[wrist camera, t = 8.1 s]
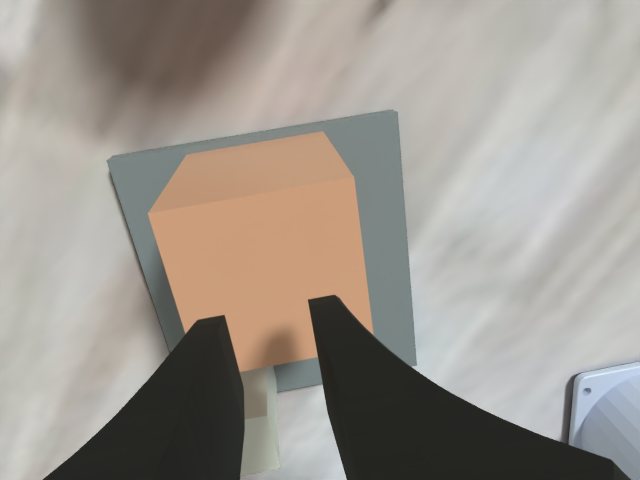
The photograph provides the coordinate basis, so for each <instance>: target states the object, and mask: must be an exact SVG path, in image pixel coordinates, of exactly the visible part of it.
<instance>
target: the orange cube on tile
mask: <svg viewBox="0 0 640 480" xmlns="http://www.w3.org/2000/svg"><path fill="white" fill-rule="evenodd" d="M148 216H149V220H150V223H151V226H152V229H153V232H154V235H155V239H156V242H157V245H158V248H159V251H160V255H161V258H162V261H163V264H164V267H165V270H166V274H167V277H168V280H169V283H170V286H171V290H172V293H173V296H174V299H175V302H176V306H177V309H178V312H179V315H180V318H181V321H182V325H183V328H184V331H185V334H186V333H187V332H188V330H189V329H190V328H191V327H192V325H193V324H194V323H195V322H196V321H197V320H199V319H204V318H209V317H215V316H220V315H225V318H226V322H227V326H228V329H229V333H230V337H231V341H232V345H233V348H234V352H235V356H236V360H237V364H238V367H239V371H240V372H243V371H248V370H253V369H258V368H263V367H269V366H274V365H279V364H284V363H289V362H295V361H300V360H305V359H310V358H315V357H318V355H317V349H316V343H315V338H314V332H313V326H312V321H311V315H310V310H309V304H308V299H313V298H319V297H324V296H329V295H336V296H338V297H339V298H340V299H341V300H342V302H343V303H344V304H345V306H346V307H347V308H348V309H349V311H350V312H351V313H352V314H353V315H354V316H355V317H356V318H357V319H358V320H359V322H360V323H361V324H362V325H363V326H364V327H365V328H366V329H367V330H368V331H369V332H371V333H372V334H373V326H372V318H371V310H370V302H369V294H368V285H367V277H366V269H365V261H364V253H363V245H362V237H361V228H360V220H359V212H358V204H357V196H356V188H355V179H354V176H353V175H352V173H351V172H350V170H349V169H348V167H347V166H346V164H345V163H344V161H343V160H342V158H341V157H340V155H339V154H338V152H337V151H336V149H335V148H334V146H333V145H332V143H331V142H330V141H329V139H328V138H327V136H326V135H325V133H324V132H323V131H321V132H315V133H310V134H304V135H298V136H292V137H286V138H280V139H275V140H269V141H263V142H257V143H251V144H245V145H240V146H234V147H228V148H222V149H216V150H210V151H205V152H199V153H193V154H187V155H186V156H185V158H184V159H183V161H182V162H181V164H180V165H179V167H178V168H177V170H176V171H175V173H174V174H173V176H172V177H171V179H170V181H169V182H168V184H167V185H166V187H165V188H164V190H163V191H162V193H161V194H160V196H159V197H158V199H157V200H156V202H155V203H154V205H153V206H152V208H151V209H150V211H149V212H148ZM373 335H374V334H373Z"/></svg>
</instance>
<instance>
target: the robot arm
mask: <svg viewBox="0 0 640 480" xmlns="http://www.w3.org/2000/svg"><path fill="white" fill-rule="evenodd" d="M308 304H309V310H310V315H311V321H312V326H313V332H314V338H315V343H316V349H317V355H318V360H319V366H320V371H321V377H322V383H323V388H324V394H325V400H326V405H327V411H328V415H329V419H330V422H331V426H332V429H333V433H334V436H335V440H336V443H337V447H338V450H339V453H340V457H341V460H342V464H343V467H344V471H345V474H346V478H347V480H640V362H635V363H630V364H625V365H620V366H615V367H610V368H604V369H599V370H594V371H589V372H584V373H581V374H579V375H578V376H577V377H576V378H575V381H574V389H573V400H572V411H571V422H570V433H569V444H565V443H562V442H559V441H556V440H553V439H550V438H547V437H544V436H542V435H539V434H537V433H534V432H532V431H530V430H527V429H525V428H522V427H520V426H518V425H515V424H513V423H511V422H508V421H506V420H504V419H501V418H499V417H497V416H495V415H493V414H491V413H489V412H486V411H484V410H482V409H480V408H478V407H477V406H475V405H473V404H471V403H469V402H467V401H465V400H463V399H461V398H459V397H457V396H456V395H454V394H452V393H450V392H448V391H447V390H445V389H443V388H442V387H440V386H438V385H437V384H435V383H434V382H432V381H431V380H429V379H428V378H426V377H425V376H423V375H422V374H420V373H419V372H417V371H416V370H415V369H413V368H412V367H411V366H409V365H408V364H407V363H405V362H404V361H403V360H402V359H400V358H399V357H398V356H397V355H395V354H394V353H393V352H392V351H390V350H389V349H388V348H387V347H386V346H385V345H383V344H382V343H381V342H380V341H379V340H378V339H377V338H376V337H375V336H374V335H373V334H372V333H371V332H369V331H368V330H367V329H366V328H365V327H364V326H363V325H362V324H361V323H360V322H359V320H358V319H357V318H356V317H355V316H354V315H353V314H352V313H351V312H350V311H349V309H348V308H347V307H346V306H345V304H344V303H343V302H342V300H341V299H340V298H339V297H338V296H336V295H329V296H324V297H319V298H313V299H308ZM244 432H245V409H244V386H243V383H242V379H241V375H240V371H239V367H238V364H237V360H236V356H235V352H234V348H233V345H232V341H231V337H230V333H229V329H228V326H227V322H226V318H225V315H220V316H215V317H209V318H204V319H199V320H197V321H196V322H195V323H194V324H193V325H192V327H191V328H190V329H189V330H188V332H187V333H186V334H185V335H184V337H183V338H182V339H181V340H180V342H179V343H178V344H177V346H176V347H175V348H174V349H173V351H172V352H171V353H170V354H169V355H168V357H167V358H166V359H165V360H164V362H163V363H162V364H161V365H160V366H159V368H158V369H157V370H156V371H155V373H154V374H153V375H152V376H151V377H150V378H149V379H148V381H147V382H146V383H145V384H144V385H143V386H142V387H141V388H140V389H139V390H138V392H137V393H136V394H135V395H134V396H133V397H132V398H131V399H130V400H129V401H128V403H127V404H126V405H125V406H124V407H123V408H122V409H121V410H120V411H119V412H118V413H117V414H116V415H115V416H114V417H113V418H112V419H111V420H110V421H109V422H108V423H107V424H106V425H105V426H104V427H103V428H102V429H101V430H100V431H99V432H98V433H97V434H96V435H94V436H93V437H92V438H91V439H90V440H89V441H88V442H87V443H86V444H85V445H84V446H82V447H81V448H80V449H79V450H78V451H77V452H76V453H75V454H73V455H72V456H71V457H70V458H69V459H68V460H66V461H65V462H64V463H63V464H61V465H60V466H59V467H58V468H56V469H55V470H54V471H53V472H52V473H50V474H49V475H48V476H47V477H45V478H44V479H43V480H240V473H241V463H242V453H243V443H244Z"/></svg>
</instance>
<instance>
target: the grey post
mask: <svg viewBox="0 0 640 480" xmlns="http://www.w3.org/2000/svg"><path fill="white" fill-rule="evenodd" d="M240 375H241V379H242V383H243V386H244V409H245V432H244V443H243V453H242V463H241V473H240V476H245V475H250V474H255V473H260V472H265V471H270V470H275V469H280V451H279V428H278V405H277V381H276V376H275V372H274V367H273V366H269V367H263V368H258V369H253V370H248V371H243V372H240Z"/></svg>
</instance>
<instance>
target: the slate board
mask: <svg viewBox="0 0 640 480" xmlns="http://www.w3.org/2000/svg"><path fill="white" fill-rule="evenodd" d="M321 131H323V132H324V133H325V135H326V136H327V138H328V139H329V141H330V142H331V143H332V145H333V146H334V148H335V149H336V151H337V152H338V154H339V155H340V157H341V158H342V160H343V161H344V163H345V164H346V166H347V167H348V169H349V170H350V172H351V173H352V175H353V176H354V179H355V188H356V196H357V204H358V212H359V220H360V228H361V237H362V245H363V253H364V261H365V269H366V277H367V285H368V294H369V302H370V310H371V318H372V326H373V334H374V336H375V337H376V338H377V339H378V340H379V341H380V342H381V343H382V344H383V345H385V346H386V347H387V348H388V349H389V350H390V351H392V352H393V353H394V354H395V355H397V356H398V357H399V358H400V359H402V360H403V361H404V362H405V363H407V364H408V365H409V366H416V365H417V362H416V349H415V335H414V322H413V309H412V296H411V283H410V269H409V256H408V243H407V230H406V216H405V203H404V190H403V177H402V164H401V150H400V137H399V124H398V112H396V111H394V110H387V111H381V112H375V113H369V114H363V115H357V116H351V117H345V118H339V119H333V120H326V121H320V122H314V123H308V124H302V125H296V126H290V127H284V128H278V129H272V130H266V131H260V132H254V133H248V134H242V135H236V136H230V137H224V138H218V139H212V140H206V141H200V142H194V143H188V144H182V145H176V146H170V147H164V148H157V149H151V150H145V151H139V152H133V153H127V154H121V155H115V156H112V157H111V158H110V159H108V160H107V163H108V166H109V169H110V172H111V175H112V178H113V181H114V185H115V188H116V191H117V194H118V197H119V200H120V203H121V206H122V209H123V212H124V215H125V218H126V221H127V224H128V227H129V230H130V233H131V236H132V239H133V242H134V245H135V248H136V251H137V254H138V257H139V260H140V263H141V266H142V269H143V272H144V275H145V278H146V281H147V284H148V287H149V290H150V294H151V297H152V300H153V303H154V306H155V309H156V312H157V315H158V318H159V321H160V324H161V327H162V330H163V333H164V336H165V339H166V342H167V345H168V348H169V351H170V353H171V352H172V351H173V349H174V348H175V347H176V346H177V344H178V343H179V342H180V340H181V339H182V338H183V337H184V335H185V331H184V328H183V325H182V321H181V318H180V315H179V312H178V309H177V306H176V302H175V299H174V296H173V293H172V290H171V286H170V283H169V280H168V277H167V274H166V270H165V267H164V264H163V261H162V258H161V255H160V251H159V248H158V245H157V242H156V239H155V235H154V232H153V229H152V226H151V223H150V220H149V216H148V212H149V211H150V209H151V208H152V206H153V205H154V203H155V202H156V200H157V199H158V197H159V196H160V194H161V193H162V191H163V190H164V188H165V187H166V185H167V184H168V182H169V181H170V179H171V177H172V176H173V174H174V173H175V171H176V170H177V168H178V167H179V165H180V164H181V162H182V161H183V159H184V158H185V156H186V155H187V154H193V153H199V152H205V151H210V150H216V149H222V148H228V147H234V146H240V145H245V144H251V143H257V142H263V141H269V140H275V139H280V138H286V137H292V136H298V135H304V134H310V133H315V132H321ZM273 367H274V372H275V376H276V381H277V392H281V391H286V390H291V389H296V388H302V387H307V386H312V385H317V384H322V377H321V371H320V366H319V360H318V357H315V358H310V359H305V360H300V361H295V362H289V363H284V364H279V365H274V366H273Z"/></svg>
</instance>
